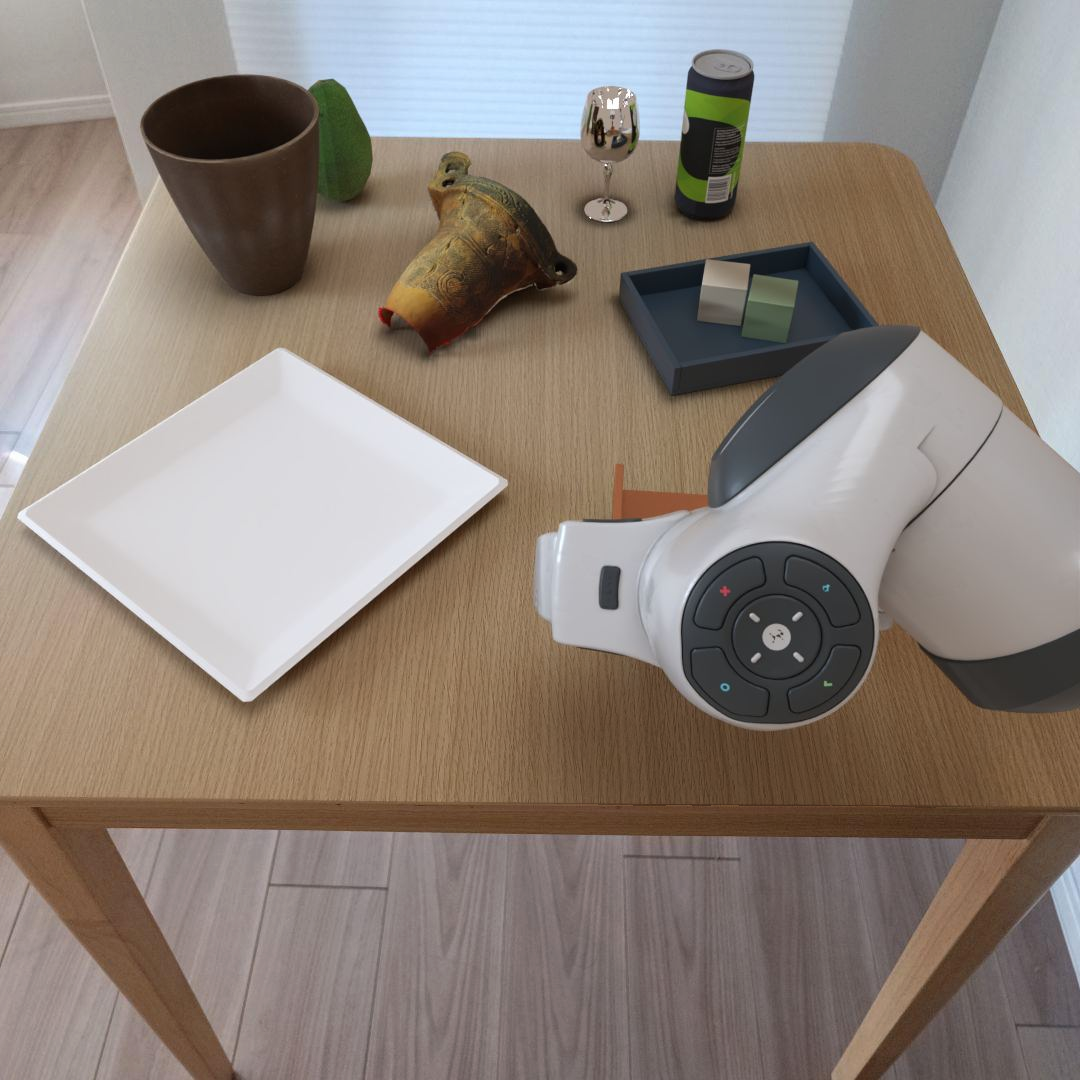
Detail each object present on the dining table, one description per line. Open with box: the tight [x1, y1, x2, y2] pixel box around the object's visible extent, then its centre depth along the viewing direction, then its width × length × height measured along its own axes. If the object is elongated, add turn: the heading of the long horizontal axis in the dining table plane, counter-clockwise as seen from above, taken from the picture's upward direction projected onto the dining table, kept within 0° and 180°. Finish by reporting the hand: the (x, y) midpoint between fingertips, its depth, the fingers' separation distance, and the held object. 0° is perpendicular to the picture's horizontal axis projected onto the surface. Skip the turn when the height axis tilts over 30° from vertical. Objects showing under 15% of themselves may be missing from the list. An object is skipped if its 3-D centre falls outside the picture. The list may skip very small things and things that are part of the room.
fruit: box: [307, 78, 374, 203], centre depth 110 cm, size 8×8×12 cm
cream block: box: [697, 258, 750, 326], centre depth 99 cm, size 4×4×4 cm
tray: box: [618, 241, 880, 396], centre depth 99 cm, size 19×14×3 cm
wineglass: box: [579, 85, 641, 223], centre depth 108 cm, size 6×6×12 cm
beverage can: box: [674, 48, 755, 221], centre depth 108 cm, size 6×6×15 cm
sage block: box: [742, 274, 798, 344], centre depth 97 cm, size 4×4×4 cm
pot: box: [377, 151, 579, 355], centre depth 99 cm, size 17×11×18 cm
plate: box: [16, 347, 509, 703], centre depth 83 cm, size 26×26×2 cm
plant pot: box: [139, 73, 319, 296], centre depth 99 cm, size 15×15×16 cm
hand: (698, 571), depth 69 cm, fingers closed on pan, 3 cm apart
